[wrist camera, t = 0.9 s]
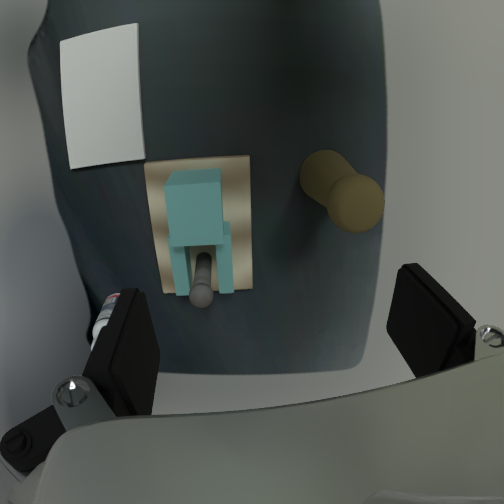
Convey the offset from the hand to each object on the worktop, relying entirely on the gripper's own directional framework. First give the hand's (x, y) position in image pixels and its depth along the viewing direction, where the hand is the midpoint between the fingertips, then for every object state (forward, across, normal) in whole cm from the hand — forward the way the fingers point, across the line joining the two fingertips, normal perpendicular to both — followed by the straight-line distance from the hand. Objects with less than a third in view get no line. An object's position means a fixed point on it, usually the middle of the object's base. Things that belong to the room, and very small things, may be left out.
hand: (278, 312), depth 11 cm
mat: (+25, +14, -10) cm, 30 cm away
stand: (+26, +4, +6) cm, 27 cm away
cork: (+25, -10, +1) cm, 27 cm away
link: (+24, +4, +6) cm, 26 cm away
